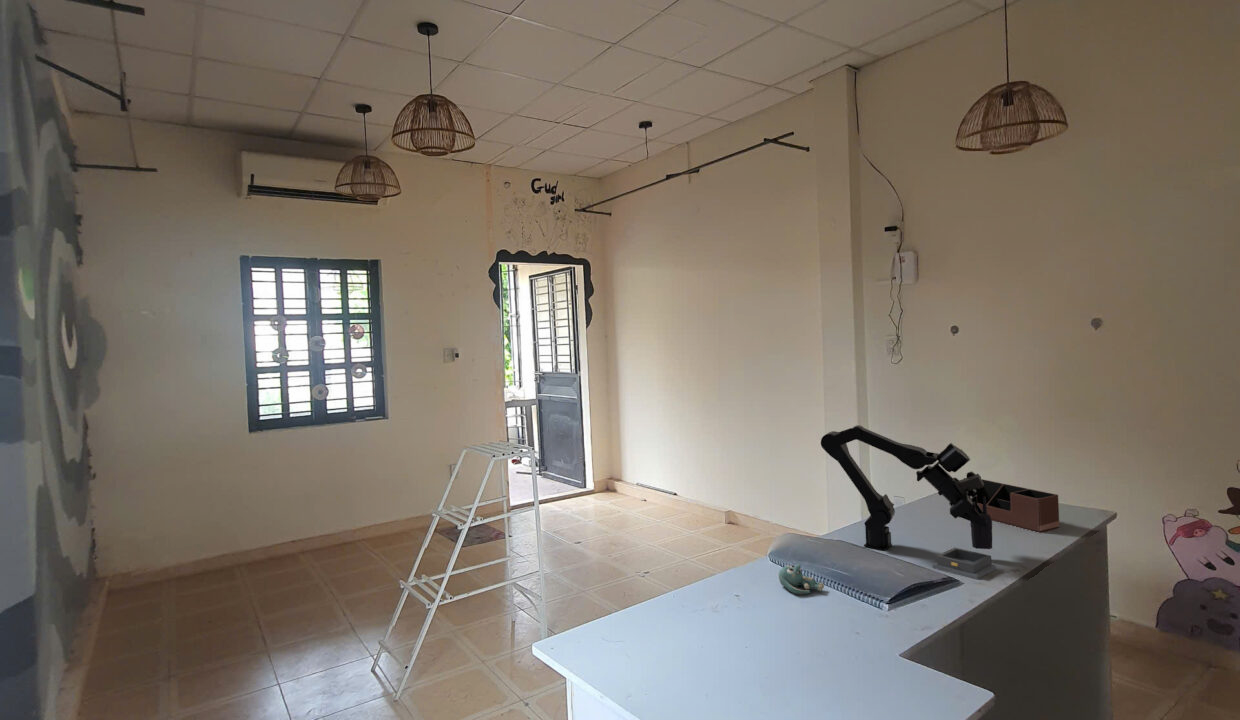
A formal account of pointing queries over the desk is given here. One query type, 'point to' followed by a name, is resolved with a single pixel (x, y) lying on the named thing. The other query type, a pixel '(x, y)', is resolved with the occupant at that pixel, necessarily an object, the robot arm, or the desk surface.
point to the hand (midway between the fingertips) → (987, 523)
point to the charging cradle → (964, 563)
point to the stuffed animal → (797, 580)
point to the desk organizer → (1020, 506)
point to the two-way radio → (982, 531)
